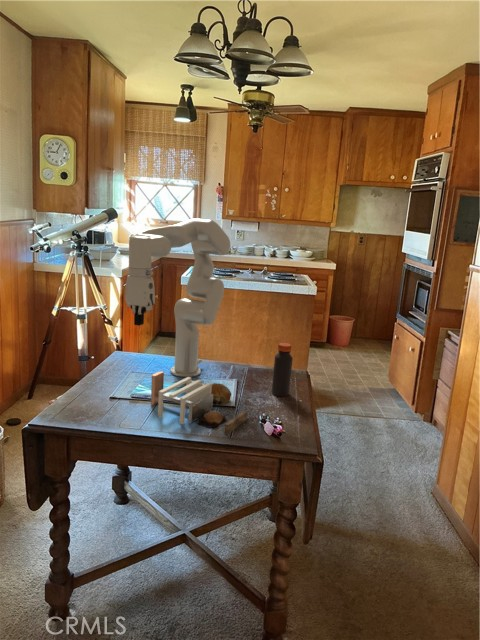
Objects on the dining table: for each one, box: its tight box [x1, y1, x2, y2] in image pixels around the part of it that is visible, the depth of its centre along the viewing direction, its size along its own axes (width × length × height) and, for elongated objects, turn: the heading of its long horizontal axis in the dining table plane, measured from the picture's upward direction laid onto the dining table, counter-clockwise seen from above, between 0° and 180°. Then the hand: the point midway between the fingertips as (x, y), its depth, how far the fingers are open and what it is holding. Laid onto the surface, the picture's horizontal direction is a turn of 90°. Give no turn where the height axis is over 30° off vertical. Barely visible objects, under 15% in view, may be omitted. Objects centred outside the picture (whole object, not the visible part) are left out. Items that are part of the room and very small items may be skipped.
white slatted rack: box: [157, 377, 213, 425], centre depth 162 cm, size 17×10×9 cm, turn 152°
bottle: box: [271, 342, 293, 398], centre depth 183 cm, size 7×7×20 cm
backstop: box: [223, 410, 248, 435], centre depth 155 cm, size 13×1×3 cm, turn 152°
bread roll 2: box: [195, 409, 228, 430], centre depth 157 cm, size 11×8×4 cm
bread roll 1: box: [211, 382, 232, 406], centre depth 175 cm, size 10×10×8 cm
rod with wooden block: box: [150, 370, 214, 424], centre depth 163 cm, size 13×20×11 cm, turn 62°
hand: (138, 324), depth 167 cm, fingers closed
